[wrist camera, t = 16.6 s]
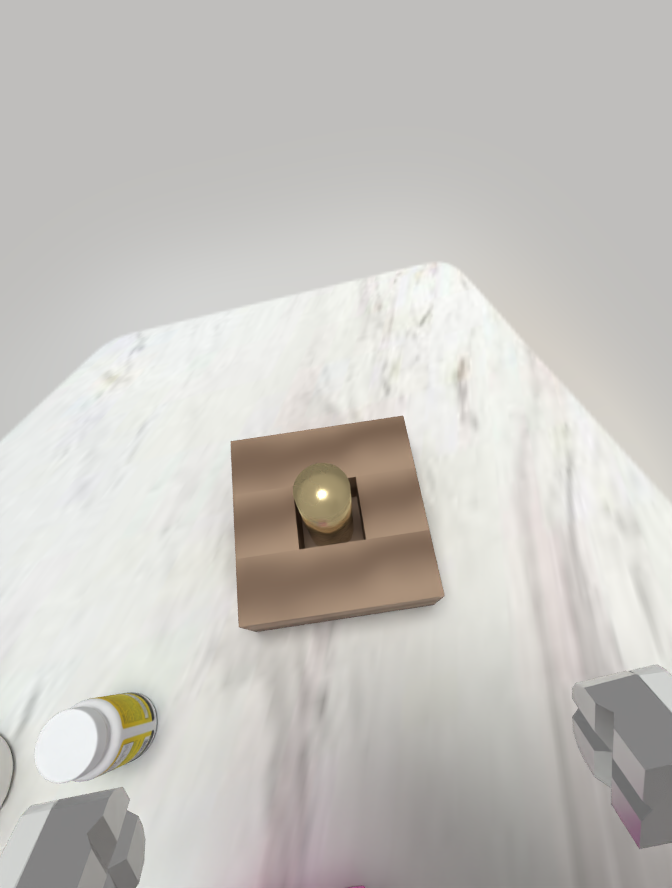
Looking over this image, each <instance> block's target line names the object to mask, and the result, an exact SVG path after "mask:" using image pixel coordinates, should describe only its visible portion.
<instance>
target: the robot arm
mask: <svg viewBox="0 0 672 888" xmlns="http://www.w3.org/2000/svg"><path fill="white" fill-rule="evenodd" d="M572 699H573V701H574V702H575V704H576V705H577V706H578V710H577V711H576V713H575V714H574V715H573V717H572V721H573V732H574V736H575V739H576V742H577V745H578V748H579V750H580V752H581V754H582V757H583V759H584V761H585V763H586V764H587V766H588V767H589V769H590V771H591V772H592V774H593V776H594V777H595V778H597V779H598V780H600V781H602V782H603V783H605V784H606V785H608V786H609V787H611V805H612V806H613V808H614V809H615V811H616V813H617V814H618V816H619V817H620V819H621V821H622V822H623V824H624V825H625V827H626V828H627V830H628V832H629V833H630V835H631V836H632V838H633V840H634V841H635V843H636V844H637V846H638V847H639V849H642V848H647V847H652V846H657V845H662V844H667V843H672V675H671V674H670V673H669V672H668V671H667V670H666V669H664V668H663V667H661V666H659V665H652V666H647V667H643V668H639V669H635V670H631V671H623V672H619V673H615V674H610V675H606V676H602V677H598V678H594V679H590V680H586V681H582V682H578V683H575V685H574V686H573V688H572ZM129 801H130V798H129V797H128V795H127V793H126V791H125V790H124V788H123V787H120V788H115V789H110V790H105V791H100V792H95V793H90V794H85V795H80V796H75V797H70V798H65V799H59V800H55V801H50V802H45V803H41V804H36V805H32V806H30V807H29V808H28V809H27V810H26V811H25V812H24V814H23V815H22V816H21V817H20V819H19V821H18V823H17V825H16V827H15V828H14V830H13V832H12V834H11V836H10V838H9V840H8V842H7V844H6V846H5V848H4V850H3V852H2V854H1V856H0V888H136V886H137V885H138V884H139V881H140V877H141V873H142V868H143V864H144V855H145V835H144V829H143V825H142V823H141V821H140V818H139V816H137V815H135V814H133V813H131V812H129V811H127V808H128V804H129Z"/></svg>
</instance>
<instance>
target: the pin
mask: <svg viewBox="0 0 672 888" xmlns="http://www.w3.org/2000/svg"><path fill="white" fill-rule="evenodd" d="M293 497H294V500H295V503H296V505H297V507H298V509H299V512H300V514H301V516H302V519H303V521H304V523H305V525H306V528H307V530H308V532H309V535H310V537H311V539H312V540H313V542H314V543H315V544H316V545H317V546H326V545H333V544H339V543H346V542H349V540H350V539H351V537H352V534H353V529H354V526H353V514H352V502H351V490H350V483H349V480H348V478H347V476H346V474H345V473H344V472H343V471H342V470H341V469H340V468H338V467H337V466H335V465H332V464H328V463H317V464H313V465H310V466H308V467H307V468H305V469H304V470H303V471H301V472H300V474H299V475H298V476H297V478H296V480H295V482H294V486H293Z"/></svg>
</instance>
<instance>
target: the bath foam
mask: <svg viewBox="0 0 672 888" xmlns="http://www.w3.org/2000/svg"><path fill="white" fill-rule="evenodd" d="M12 772H13V760H12V754H11V751H10V748H9V746H8V744H7V743H6V741H5V740H4V739H3V738H2V737H1V736H0V807H1V805H2V803H3V801H4V800H5V798H6V795H7V793H8V790H9V787H10V783H11V778H12Z"/></svg>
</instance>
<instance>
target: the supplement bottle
mask: <svg viewBox="0 0 672 888" xmlns="http://www.w3.org/2000/svg"><path fill="white" fill-rule="evenodd" d="M156 726H157V718H156V712H155V709H154V706H153V704H152V703H151V701H150V700H149V699H148V698H147V697H145V696H144V695H141V694H139V693H123V694H117V695H110V696H104V697H97V698H91V699H87V700H84V701H81V702H79V703H77V704H76V705H74V706H73V707H71V708H70V709H67V710H64V711H61V712H60V713H58V714H56V715H55V716H53V717H52V718H51V719H50V720H49V721H48V722H47V723H46V724H45V726H44V727H43V729H42V730H41V732H40V734H39V736H38V739H37V742H36V746H35V763H36V767H37V769H38V771H39V773H40V774H41V776H42V777H43V778H44V779H46V780H48V781H50V782H52V783H66V782H69V781H75V782H82V781H88V780H91V779H94V778H96V777H98V776H100V775H102V774H105V773H107V772H109V771H111V770H114V769H116V768H118V767H120V766H122V765H124V764H127V763H129V762H131V761H133V760H135V759H136V758H138V757H139V756H141V755H142V754H143V753H144V752H145V751H146V750H147V748H148V747H149V746H150V744H151V742H152V740H153V738H154V735H155V732H156Z"/></svg>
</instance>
